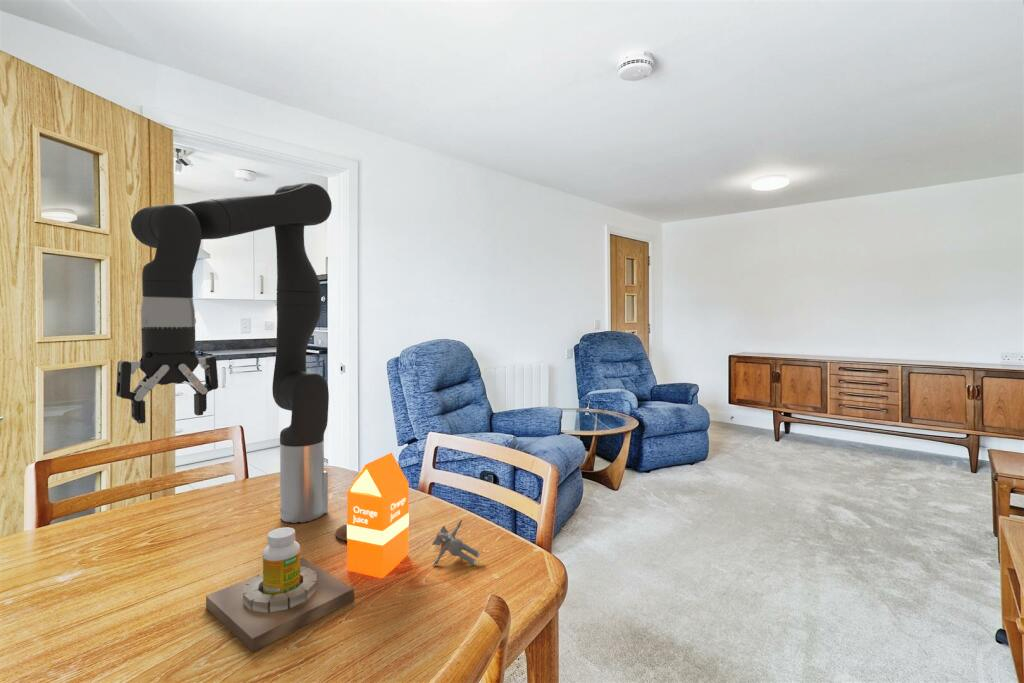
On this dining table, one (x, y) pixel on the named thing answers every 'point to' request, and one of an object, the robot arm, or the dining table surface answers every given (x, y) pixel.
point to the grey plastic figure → (453, 545)
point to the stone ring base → (277, 605)
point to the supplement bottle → (281, 562)
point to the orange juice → (377, 518)
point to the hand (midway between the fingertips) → (170, 418)
